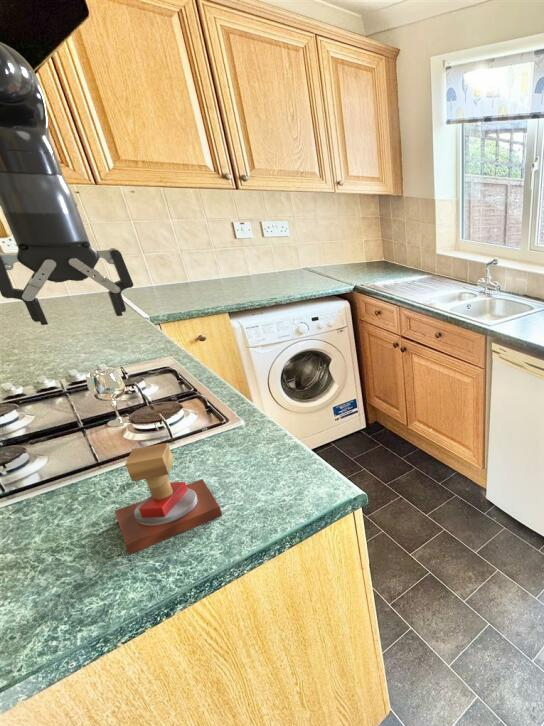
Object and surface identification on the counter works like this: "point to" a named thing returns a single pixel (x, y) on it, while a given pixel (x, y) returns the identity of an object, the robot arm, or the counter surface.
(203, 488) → the stamp stand
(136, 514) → the stamp
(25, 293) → the robot arm
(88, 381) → the wineglass
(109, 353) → the counter surface
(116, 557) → the counter surface
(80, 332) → the counter surface
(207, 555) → the counter surface
